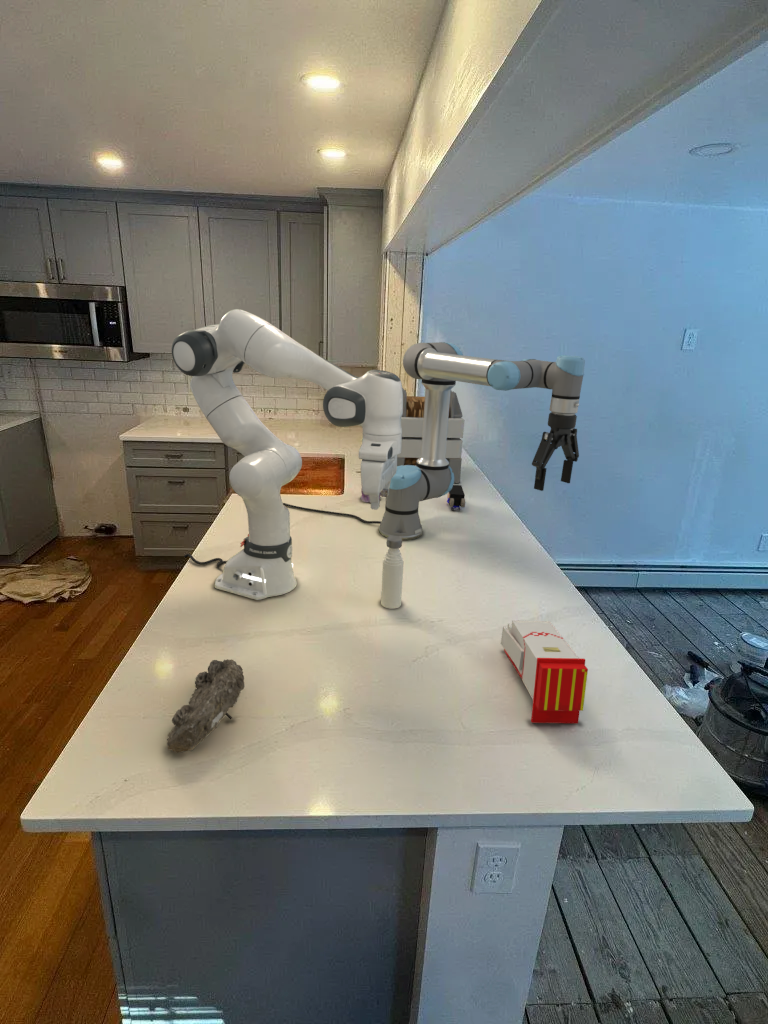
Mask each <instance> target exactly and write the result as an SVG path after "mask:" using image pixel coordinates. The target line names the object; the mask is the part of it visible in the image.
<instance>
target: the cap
mask: <svg viewBox="0 0 768 1024" xmlns="http://www.w3.org/2000/svg"><path fill="white" fill-rule="evenodd" d="M402 546H403V540H402V538H401V537H399V536H389V537H386V547H387V548H388V549H389V548H392V549H398V548H399V549H400V548H402Z"/></svg>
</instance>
